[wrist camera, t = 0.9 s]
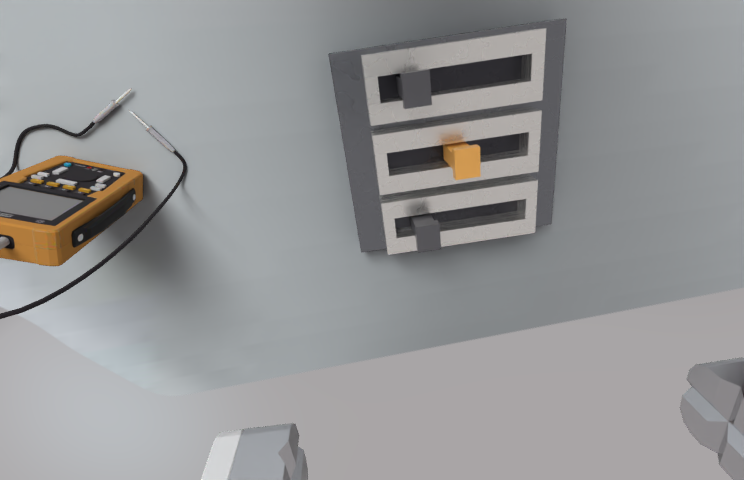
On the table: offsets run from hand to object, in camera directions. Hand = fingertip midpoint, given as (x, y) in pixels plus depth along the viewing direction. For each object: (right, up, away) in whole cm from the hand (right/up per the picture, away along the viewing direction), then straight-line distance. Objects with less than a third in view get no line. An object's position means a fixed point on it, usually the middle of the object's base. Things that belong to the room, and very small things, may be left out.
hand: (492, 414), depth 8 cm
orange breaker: (+5, +12, +27) cm, 30 cm away
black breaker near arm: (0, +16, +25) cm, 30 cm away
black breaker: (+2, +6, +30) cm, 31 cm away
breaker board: (+5, +13, +29) cm, 32 cm away
